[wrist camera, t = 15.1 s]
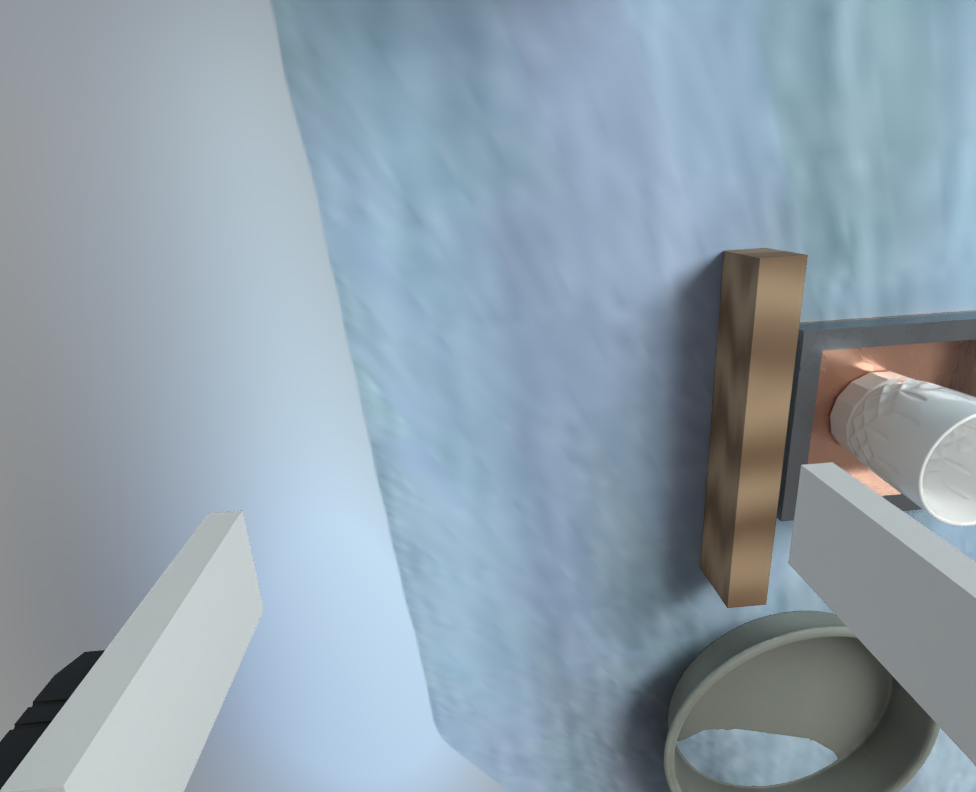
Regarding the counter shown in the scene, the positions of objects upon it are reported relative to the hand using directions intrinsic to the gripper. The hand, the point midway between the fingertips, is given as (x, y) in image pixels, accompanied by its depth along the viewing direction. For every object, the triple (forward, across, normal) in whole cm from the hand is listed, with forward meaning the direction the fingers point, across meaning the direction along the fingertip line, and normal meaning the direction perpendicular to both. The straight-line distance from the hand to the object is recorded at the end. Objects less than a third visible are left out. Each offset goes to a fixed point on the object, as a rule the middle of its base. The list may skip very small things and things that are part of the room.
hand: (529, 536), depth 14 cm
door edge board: (+29, +19, -10) cm, 36 cm away
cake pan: (+29, +26, -39) cm, 55 cm away
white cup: (+28, +30, -10) cm, 42 cm away
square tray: (+29, +30, -10) cm, 43 cm away
